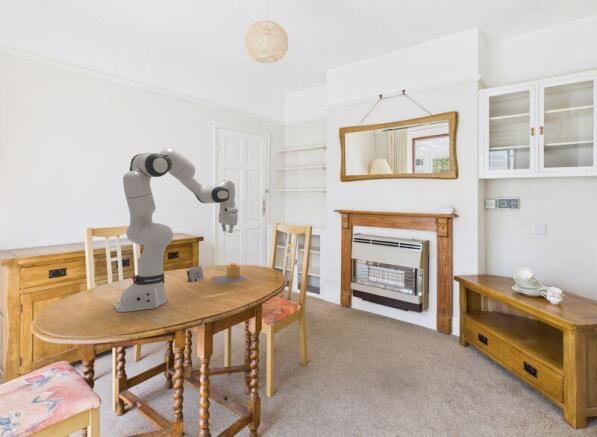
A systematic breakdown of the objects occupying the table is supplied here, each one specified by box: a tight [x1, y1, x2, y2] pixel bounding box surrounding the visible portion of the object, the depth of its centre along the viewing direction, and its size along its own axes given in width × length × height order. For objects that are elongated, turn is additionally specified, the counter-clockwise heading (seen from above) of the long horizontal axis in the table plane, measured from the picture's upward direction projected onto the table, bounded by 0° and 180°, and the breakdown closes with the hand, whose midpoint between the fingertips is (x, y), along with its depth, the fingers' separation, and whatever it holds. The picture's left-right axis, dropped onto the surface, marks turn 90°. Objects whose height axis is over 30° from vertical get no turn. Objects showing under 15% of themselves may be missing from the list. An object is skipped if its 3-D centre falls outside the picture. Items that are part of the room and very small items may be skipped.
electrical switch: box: [186, 265, 205, 283], centre depth 189 cm, size 9×5×9 cm, turn 152°
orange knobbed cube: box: [226, 262, 241, 278], centre depth 197 cm, size 6×6×8 cm
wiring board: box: [210, 274, 249, 285], centre depth 192 cm, size 18×16×6 cm
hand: (227, 232), depth 186 cm, fingers open, 8 cm apart
